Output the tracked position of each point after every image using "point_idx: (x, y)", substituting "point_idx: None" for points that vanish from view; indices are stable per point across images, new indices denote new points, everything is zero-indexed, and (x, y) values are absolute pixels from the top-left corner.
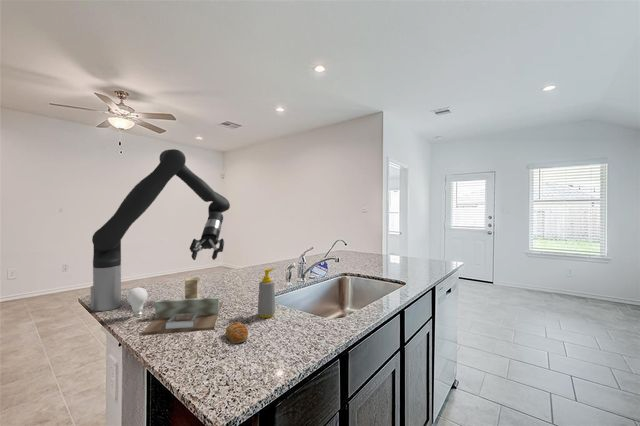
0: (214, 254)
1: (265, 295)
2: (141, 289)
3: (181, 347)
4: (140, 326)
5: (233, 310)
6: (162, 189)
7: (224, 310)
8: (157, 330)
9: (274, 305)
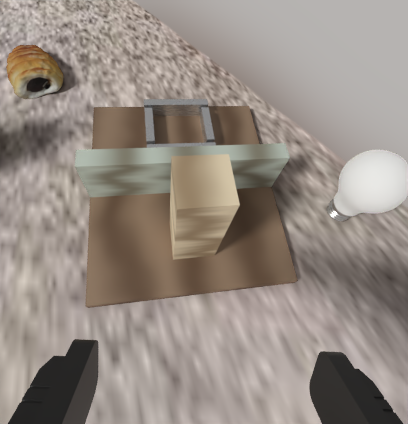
0: (54, 390)
1: None
2: (374, 160)
3: (147, 61)
4: None
5: (43, 235)
6: None
7: (77, 239)
8: (221, 109)
9: None
